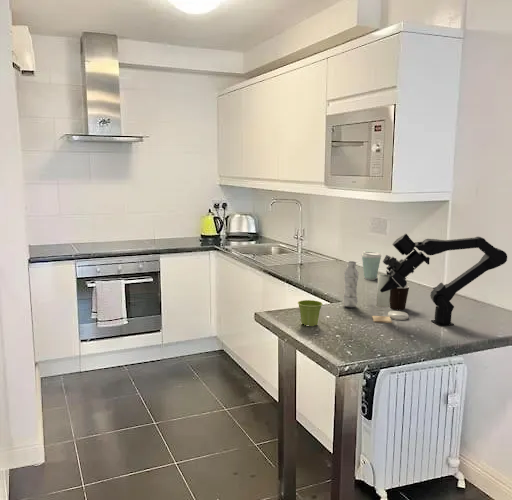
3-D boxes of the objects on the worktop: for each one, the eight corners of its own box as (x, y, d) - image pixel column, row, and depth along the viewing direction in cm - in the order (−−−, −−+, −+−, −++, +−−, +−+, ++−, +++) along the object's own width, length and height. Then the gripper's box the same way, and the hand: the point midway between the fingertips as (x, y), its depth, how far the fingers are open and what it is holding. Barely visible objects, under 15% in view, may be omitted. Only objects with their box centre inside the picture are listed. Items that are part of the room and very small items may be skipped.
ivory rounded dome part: (411, 319, 209) (411, 315, 209) (393, 320, 208) (393, 316, 207) (401, 314, 217) (402, 310, 217) (384, 314, 215) (384, 311, 215)
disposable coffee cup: (379, 277, 291) (381, 251, 288) (380, 281, 280) (382, 254, 278) (360, 276, 292) (361, 250, 290) (360, 280, 282) (362, 253, 280)
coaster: (389, 318, 211) (389, 316, 211) (391, 323, 204) (391, 321, 204) (372, 317, 212) (372, 315, 212) (373, 322, 205) (373, 320, 205)
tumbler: (391, 307, 205) (393, 276, 203) (379, 307, 204) (381, 276, 202) (385, 304, 210) (387, 273, 208) (374, 304, 209) (375, 274, 207)
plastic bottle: (340, 308, 225) (343, 262, 221) (343, 304, 231) (345, 260, 228) (355, 309, 222) (358, 264, 219) (358, 305, 229) (360, 261, 226)
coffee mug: (392, 304, 232) (393, 282, 231) (410, 308, 227) (412, 285, 225) (380, 309, 223) (382, 287, 222) (399, 313, 218) (401, 290, 216)
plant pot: (296, 320, 204) (297, 299, 203) (320, 321, 204) (321, 300, 203) (297, 328, 195) (298, 305, 194) (322, 328, 195) (323, 306, 194)
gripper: (392, 245, 212) (364, 270, 215) (399, 252, 194) (368, 280, 197) (411, 264, 212) (382, 290, 215) (420, 273, 194) (388, 301, 197)
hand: (380, 289), depth 206 cm, fingers closed on tumbler, 5 cm apart
